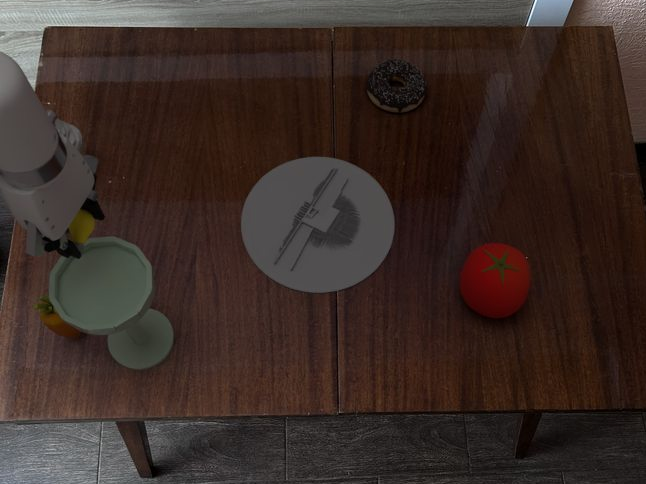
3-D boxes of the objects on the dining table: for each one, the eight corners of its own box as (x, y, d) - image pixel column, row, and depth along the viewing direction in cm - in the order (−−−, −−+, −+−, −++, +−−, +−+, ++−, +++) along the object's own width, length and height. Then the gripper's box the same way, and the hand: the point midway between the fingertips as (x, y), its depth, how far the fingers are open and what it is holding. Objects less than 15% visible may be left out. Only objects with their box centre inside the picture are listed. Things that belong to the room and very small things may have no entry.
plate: (292, 134, 133) (292, 130, 132) (421, 200, 129) (422, 197, 128) (211, 246, 124) (210, 243, 123) (346, 320, 121) (346, 318, 120)
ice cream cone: (103, 169, 129) (76, 117, 115) (81, 186, 127) (52, 135, 113) (85, 153, 130) (57, 99, 116) (64, 169, 128) (32, 117, 114)
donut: (377, 62, 139) (378, 47, 136) (433, 80, 138) (436, 66, 135) (358, 105, 136) (359, 91, 132) (416, 123, 135) (418, 110, 131)
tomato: (440, 278, 124) (455, 240, 111) (496, 255, 126) (517, 216, 113) (473, 338, 121) (492, 307, 107) (529, 314, 123) (555, 281, 109)
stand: (96, 354, 117) (51, 306, 97) (129, 300, 120) (91, 242, 101) (154, 380, 116) (120, 337, 96) (185, 324, 119) (159, 271, 100)
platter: (35, 311, 97) (29, 305, 95) (87, 230, 101) (82, 222, 99) (124, 350, 96) (119, 344, 93) (173, 266, 100) (169, 259, 98)
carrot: (90, 319, 119) (59, 282, 105) (92, 346, 117) (61, 312, 103) (61, 323, 119) (26, 287, 104) (62, 350, 117) (26, 317, 103)
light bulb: (96, 213, 93) (95, 208, 90) (91, 257, 93) (90, 254, 90) (69, 209, 92) (67, 204, 89) (64, 254, 92) (62, 250, 89)
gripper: (39, 82, 78) (89, 173, 95) (-47, 204, 73) (23, 278, 90) (99, 105, 77) (138, 192, 94) (17, 230, 72) (74, 299, 89)
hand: (82, 233), depth 92 cm, fingers closed on light bulb, 5 cm apart
